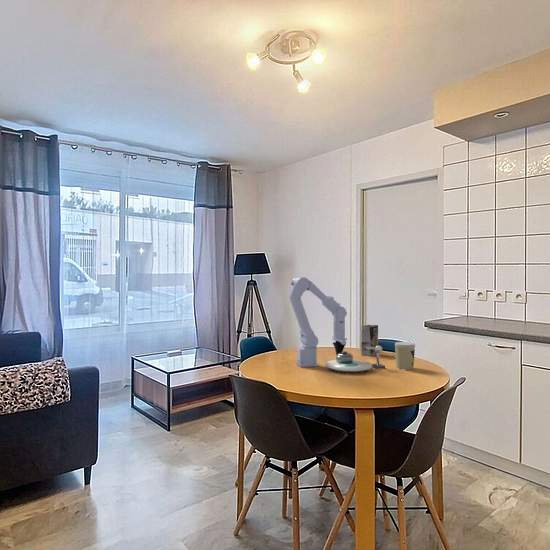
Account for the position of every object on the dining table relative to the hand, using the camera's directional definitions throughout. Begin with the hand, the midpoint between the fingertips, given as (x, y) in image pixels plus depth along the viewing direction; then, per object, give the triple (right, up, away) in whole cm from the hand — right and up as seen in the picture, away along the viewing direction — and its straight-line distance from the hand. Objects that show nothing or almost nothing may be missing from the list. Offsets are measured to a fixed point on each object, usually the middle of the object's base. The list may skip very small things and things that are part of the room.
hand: (339, 356), depth 215 cm
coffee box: (+20, -3, +21) cm, 30 cm away
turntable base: (+3, -4, -13) cm, 14 cm away
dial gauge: (+16, -3, -10) cm, 19 cm away
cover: (+1, -1, -7) cm, 8 cm away
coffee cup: (+30, -4, -12) cm, 32 cm away
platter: (+3, -2, -13) cm, 13 cm away
